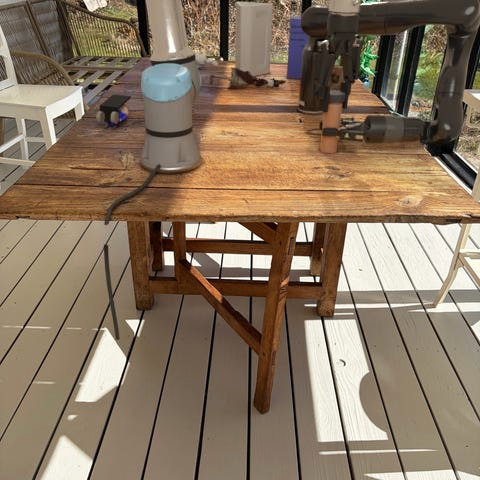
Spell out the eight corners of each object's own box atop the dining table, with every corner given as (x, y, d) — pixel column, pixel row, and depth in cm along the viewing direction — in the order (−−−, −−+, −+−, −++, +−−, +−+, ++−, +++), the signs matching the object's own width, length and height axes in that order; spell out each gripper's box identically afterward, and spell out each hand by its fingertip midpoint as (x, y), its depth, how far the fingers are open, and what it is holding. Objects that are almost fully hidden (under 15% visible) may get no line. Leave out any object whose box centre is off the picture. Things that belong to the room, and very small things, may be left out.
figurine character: (119, 135, 145) (134, 115, 156) (115, 111, 140) (131, 93, 152) (98, 134, 145) (114, 114, 157) (93, 110, 141) (110, 92, 152)
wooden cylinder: (337, 153, 131) (344, 98, 123) (320, 152, 131) (326, 97, 123) (335, 147, 135) (342, 93, 127) (319, 147, 135) (324, 92, 127)
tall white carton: (273, 76, 210) (276, 6, 196) (239, 77, 209) (240, 6, 194) (266, 67, 226) (268, 2, 212) (235, 67, 225) (235, 1, 210)
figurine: (210, 87, 179) (288, 95, 182) (212, 65, 176) (291, 73, 180) (208, 84, 201) (278, 91, 205) (210, 64, 198) (280, 71, 202)
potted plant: (332, 93, 201) (333, 95, 187) (318, 79, 200) (318, 79, 186) (355, 70, 197) (357, 69, 183) (340, 55, 196) (341, 53, 182)
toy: (173, 75, 210) (172, 58, 207) (149, 64, 228) (148, 49, 224) (220, 69, 222) (220, 53, 218) (194, 59, 239) (193, 45, 236)
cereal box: (326, 77, 211) (332, 17, 198) (327, 79, 206) (333, 19, 194) (286, 76, 211) (290, 16, 199) (287, 78, 207) (290, 18, 195)
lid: (319, 100, 125) (320, 92, 124) (329, 96, 129) (330, 88, 128) (338, 104, 122) (339, 96, 121) (348, 100, 126) (349, 92, 125)
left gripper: (323, 17, 108) (313, 117, 120) (383, 13, 116) (369, 108, 128) (303, 13, 114) (295, 110, 125) (362, 10, 122) (350, 101, 134)
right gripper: (379, 108, 134) (318, 107, 134) (392, 124, 122) (326, 123, 122) (374, 134, 138) (315, 133, 138) (387, 152, 125) (323, 151, 125)
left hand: (332, 109), depth 127 cm, fingers open, 6 cm apart
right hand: (321, 128), depth 130 cm, fingers closed on wooden cylinder, 4 cm apart
